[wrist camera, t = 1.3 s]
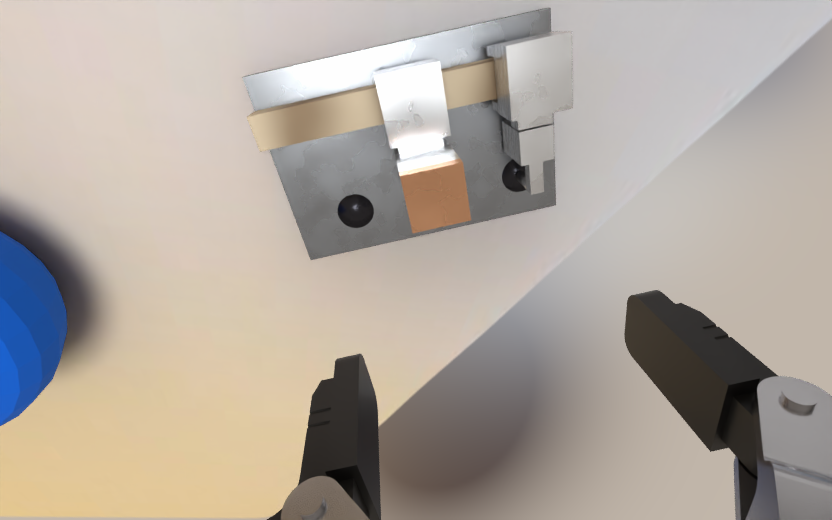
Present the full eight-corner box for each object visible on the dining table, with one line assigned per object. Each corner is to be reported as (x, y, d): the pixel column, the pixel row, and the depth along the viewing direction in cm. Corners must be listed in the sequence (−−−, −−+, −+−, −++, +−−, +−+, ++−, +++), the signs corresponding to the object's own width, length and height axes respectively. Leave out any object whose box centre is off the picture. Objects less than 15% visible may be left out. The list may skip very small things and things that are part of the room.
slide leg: (428, 56, 29) (453, 66, 20) (450, 197, 34) (478, 251, 26) (372, 69, 29) (375, 83, 20) (404, 207, 34) (416, 265, 26)
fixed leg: (538, 31, 29) (572, 31, 24) (544, 175, 34) (572, 198, 29) (483, 44, 29) (506, 46, 24) (497, 186, 34) (518, 210, 29)
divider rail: (551, 44, 30) (565, 45, 28) (552, 79, 31) (565, 83, 29) (255, 111, 30) (246, 116, 28) (267, 143, 31) (260, 151, 29)
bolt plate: (544, 8, 29) (550, 7, 28) (551, 201, 37) (556, 205, 36) (246, 76, 29) (242, 77, 29) (312, 254, 37) (310, 260, 36)
